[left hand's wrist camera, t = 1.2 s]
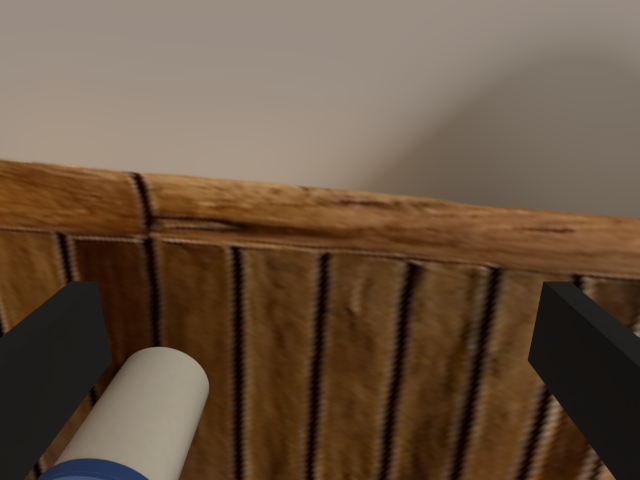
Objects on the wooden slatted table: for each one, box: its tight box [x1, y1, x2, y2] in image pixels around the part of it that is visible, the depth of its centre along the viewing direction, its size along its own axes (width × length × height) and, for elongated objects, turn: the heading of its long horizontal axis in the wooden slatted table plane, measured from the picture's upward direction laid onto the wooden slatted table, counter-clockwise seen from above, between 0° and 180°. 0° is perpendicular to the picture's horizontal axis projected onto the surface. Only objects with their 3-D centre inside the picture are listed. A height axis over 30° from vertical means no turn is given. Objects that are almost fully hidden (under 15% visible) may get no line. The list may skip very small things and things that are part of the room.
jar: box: [52, 347, 209, 480], centre depth 40 cm, size 10×10×16 cm
